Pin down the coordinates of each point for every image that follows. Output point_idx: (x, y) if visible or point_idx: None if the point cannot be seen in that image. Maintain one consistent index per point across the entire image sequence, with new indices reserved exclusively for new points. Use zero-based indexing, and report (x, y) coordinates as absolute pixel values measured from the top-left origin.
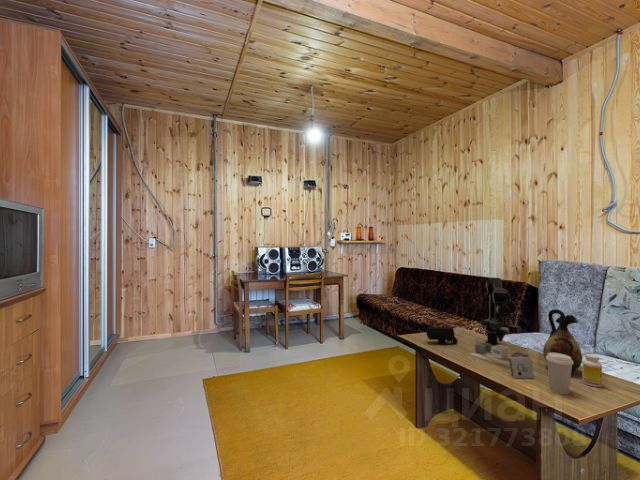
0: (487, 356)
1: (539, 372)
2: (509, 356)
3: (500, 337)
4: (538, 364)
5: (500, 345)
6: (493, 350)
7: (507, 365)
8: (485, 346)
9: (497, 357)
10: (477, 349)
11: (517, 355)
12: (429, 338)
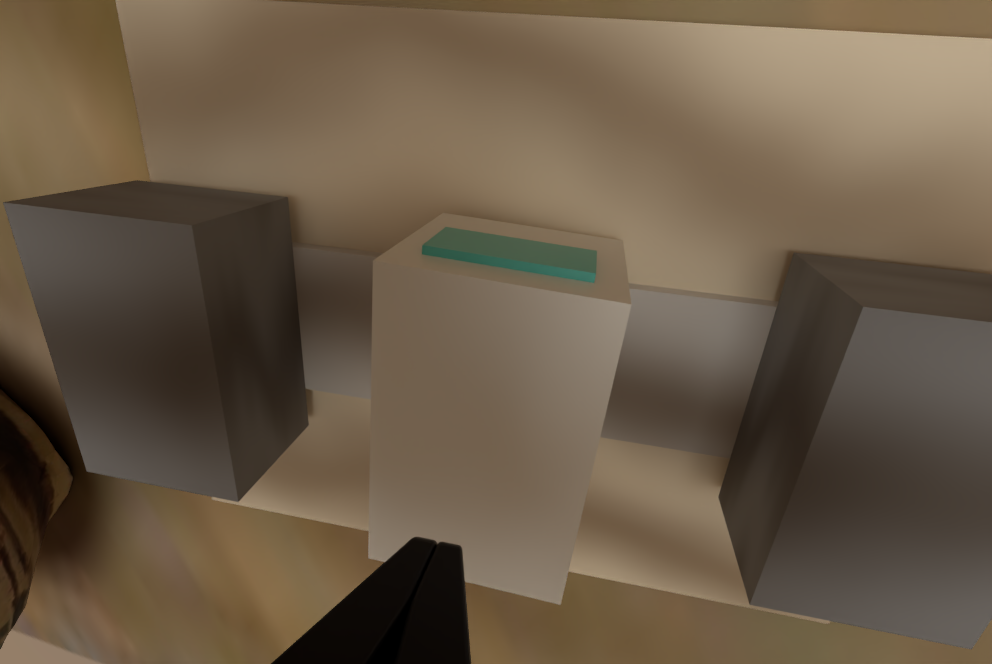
0: (699, 201)
1: None
2: None
3: (344, 654)
4: None
5: (525, 558)
6: (585, 263)
7: (262, 2)
8: (829, 382)
9: (511, 224)
10: (987, 289)
11: (98, 256)
12: None
